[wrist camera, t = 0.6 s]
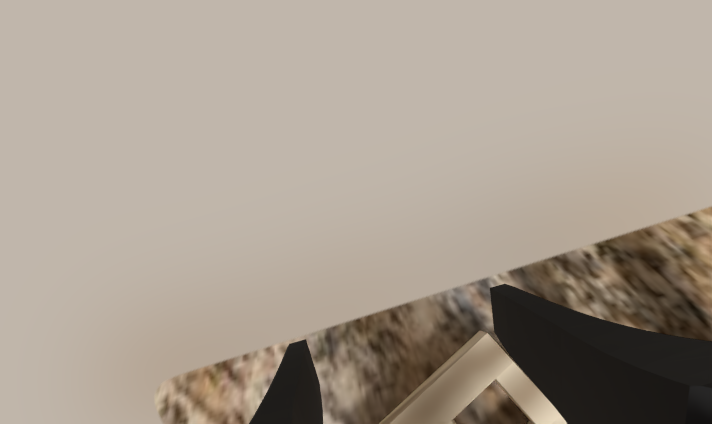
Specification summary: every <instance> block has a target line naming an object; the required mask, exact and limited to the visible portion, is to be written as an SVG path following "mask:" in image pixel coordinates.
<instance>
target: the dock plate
mask: <svg viewBox="0 0 712 424" xmlns="http://www.w3.org/2000/svg"><path fill="white" fill-rule="evenodd" d="M493 381H495V382H496V383H497V384H498V385H499V386H500V387H501V389H502V390H503V391H504V392H505V393H506V394H507V395H508V396H509V398H510V399H511V400H512V401H513V402H514V403H515V404H516V406H517V407H518V408H519V409H520V410H521V411H522V412H523V414H524V415H525V416H526V417H527V418H528V419H529V420H530V421H529V422H528V423H527V424H567V423H566V421H565V420H564V418H563V417H562V416H561V415H560V413H559V412H558V411H557V410H556V408H555V407H554V406H553V405H552V404H551V402H550V401H549V400H548V399H547V398H546V397H545V396H544V395H543V394H542V392H541V391H540V390H539V389H538V388H537V387H536V386H535V385H534V384H533V383H532V381H531V380H530V379H529V378H528V377H527V376H526V375H525V374H524V373H523V372H522V370H521V369H520V368H519V367H518V366H517V365H516V364H515V363H514V362H513V361H512V359H511V358H510V357H509V356H508V355H507V354H506V353H505V352H504V351H503V350H502V348H501V347H500V346H499V345H498V344H497V343H496V342H495V341H494V340H493V339H492V337H491V336H490V335H489V334H488V333H486V332H483V331H480V330H479V331H478V332H477V333H476V334H475V335H474V336H473V337H472V338H471V339H470V340H469V341H468V342H466V343H465V344H464V345H463V346H462V347H461V348H460V349H459V350H458V351H457V352H456V353H455V354H453V355H452V356H451V357H450V358H449V359H448V360H447V361H446V362H445V363H444V364H443V365H442V366H441V367H439V368H438V369H437V370H436V371H435V372H434V373H433V374H432V375H431V376H430V377H429V378H428V379H426V380H425V381H424V382H423V383H422V384H421V385H420V386H419V387H418V388H417V389H416V390H415V391H413V392H412V393H411V394H410V395H409V396H408V397H407V398H406V399H405V400H404V401H403V402H402V403H400V404H399V405H398V406H397V407H396V408H395V409H394V410H393V411H392V412H391V413H390V414H389V415H388V416H386V417H385V418H384V419H383V420H382V421H381V422H380V423H379V424H457V423H456V422H455V420H454V418H455V417H456V416H457V415H458V414H459V413H460V412H461V411H462V410H463V409H464V408H465V407H466V406H467V405H469V404H470V403H471V402H472V401H473V400H474V399H475V398H476V397H477V396H478V395H479V394H480V393H481V392H482V391H483V390H484V389H485V388H486V387H488V386H489V385H490V384H491V383H492V382H493Z"/></svg>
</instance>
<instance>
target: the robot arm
mask: <svg viewBox="0 0 712 424" xmlns="http://www.w3.org/2000/svg"><path fill="white" fill-rule="evenodd" d="M490 293H491V303H492V313H493V323H494V332H495V334H496V335H497V337H498V338H499V340H500V342H501V343H502V345H503V346H504V348H505V349H506V350H507V352H508V353H509V355H510V356H511V357H512V358H513V360H514V361H515V362H516V363H517V364H518V366H519V367H520V368H521V369H522V370H523V371H524V373H525V374H526V375H527V376H528V377H529V378H530V379H531V381H532V382H533V383H534V384H535V385H536V386H537V387H538V389H539V390H540V391H541V392H542V393H543V394H544V396H545V397H546V398H547V399H548V400H549V401H550V402H551V404H552V405H553V406H554V407H555V408H556V410H557V411H558V412H559V413H560V415H561V416H562V417H563V418H564V420H565V421H566V423H567V424H712V342H711V341H704V340H697V339H690V338H683V337H677V336H671V335H666V334H661V333H656V332H651V331H646V330H641V329H637V328H632V327H628V326H624V325H621V324H617V323H613V322H609V321H606V320H602V319H599V318H596V317H592V316H589V315H586V314H583V313H580V312H577V311H574V310H572V309H569V308H566V307H563V306H561V305H558V304H555V303H553V302H550V301H548V300H545V299H543V298H540V297H538V296H535V295H533V294H530V293H528V292H525V291H523V290H520V289H518V288H515V287H512V286H510V285H507V284H503V285H499V286H496V287H492V288H490ZM249 424H323V409H322V400H321V392H320V384H319V380H318V377H317V374H316V370H315V367H314V364H313V361H312V358H311V354H310V351H309V348H308V345H307V341H306V340H302V341H298V342H295V343H291V344H289V346H288V347H287V350H286V352H285V354H284V357H283V359H282V362H281V364H280V366H279V368H278V371H277V373H276V375H275V377H274V379H273V381H272V383H271V385H270V387H269V389H268V391H267V393H266V395H265V397H264V399H263V400H262V402H261V404H260V406H259V408H258V409H257V411H256V413H255V415H254V416H253V418H252V420H251V421H250V423H249Z"/></svg>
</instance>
